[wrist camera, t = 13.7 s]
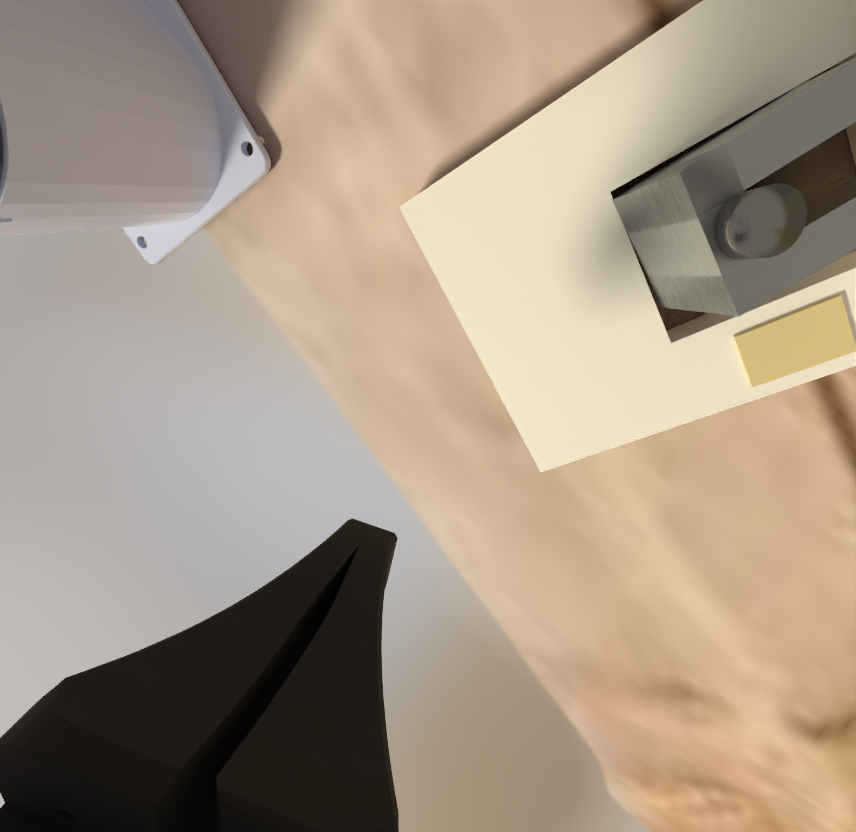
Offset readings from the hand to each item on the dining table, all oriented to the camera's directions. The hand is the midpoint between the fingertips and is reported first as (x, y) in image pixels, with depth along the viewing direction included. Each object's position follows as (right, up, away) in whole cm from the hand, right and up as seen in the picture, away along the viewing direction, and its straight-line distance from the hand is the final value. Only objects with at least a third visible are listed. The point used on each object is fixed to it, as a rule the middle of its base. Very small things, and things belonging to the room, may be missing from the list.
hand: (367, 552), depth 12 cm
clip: (+11, +10, +2) cm, 15 cm away
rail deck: (+10, +10, +4) cm, 14 cm away
